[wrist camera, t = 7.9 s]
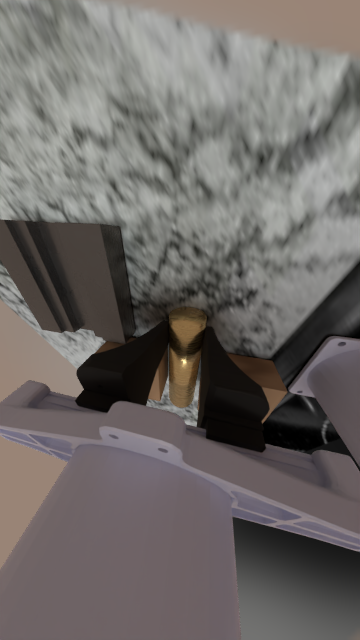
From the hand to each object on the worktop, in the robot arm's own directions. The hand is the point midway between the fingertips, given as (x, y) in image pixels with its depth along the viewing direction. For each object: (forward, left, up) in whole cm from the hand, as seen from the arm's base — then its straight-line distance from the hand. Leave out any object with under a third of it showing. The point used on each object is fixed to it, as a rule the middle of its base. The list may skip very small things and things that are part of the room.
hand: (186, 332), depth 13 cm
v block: (+11, -3, -1) cm, 11 cm away
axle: (0, +4, -2) cm, 4 cm away
